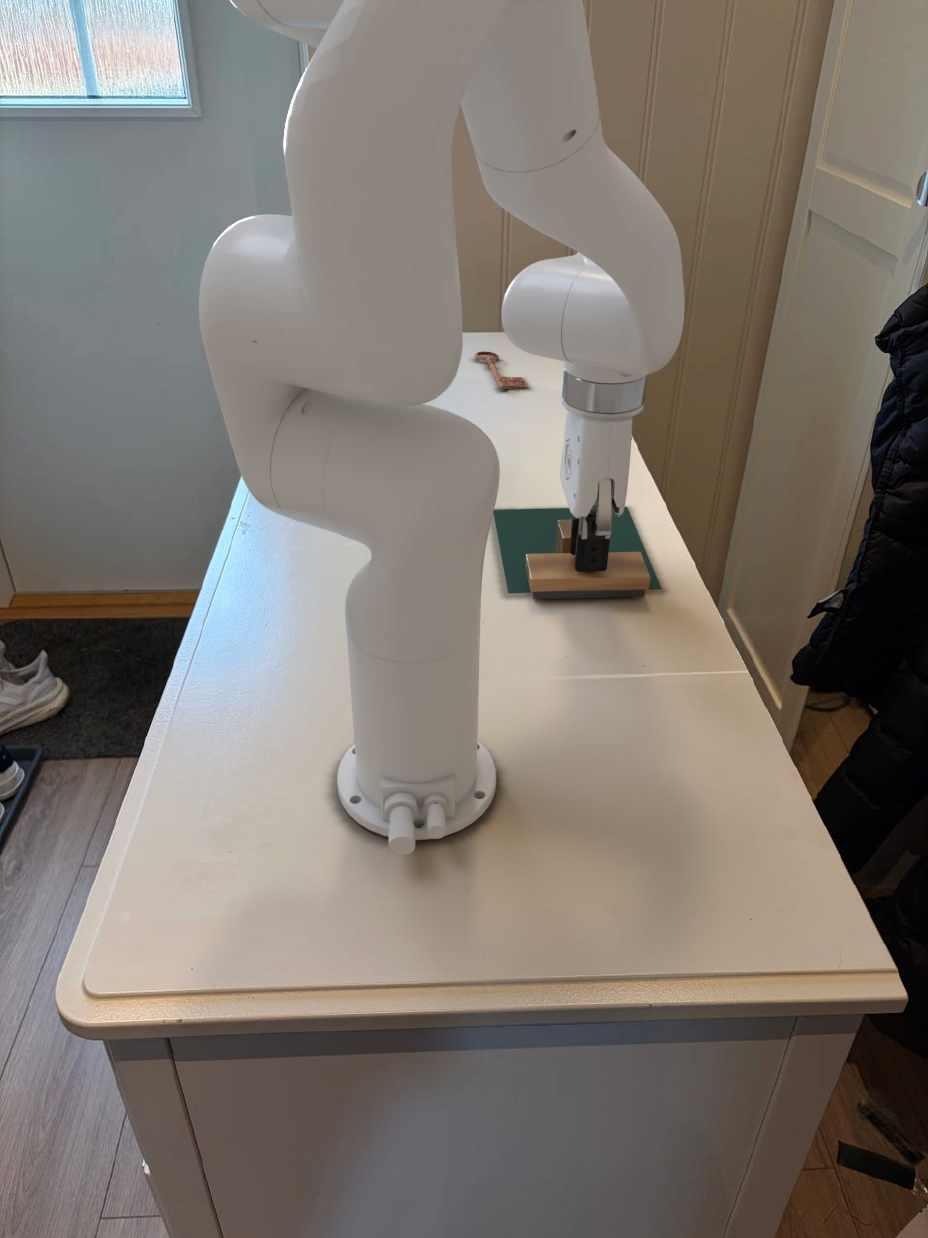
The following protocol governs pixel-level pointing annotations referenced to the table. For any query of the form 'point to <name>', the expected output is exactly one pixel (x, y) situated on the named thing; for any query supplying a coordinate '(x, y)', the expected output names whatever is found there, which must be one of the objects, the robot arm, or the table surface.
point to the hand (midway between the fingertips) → (587, 560)
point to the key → (499, 379)
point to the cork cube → (563, 536)
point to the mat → (553, 540)
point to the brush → (586, 576)
